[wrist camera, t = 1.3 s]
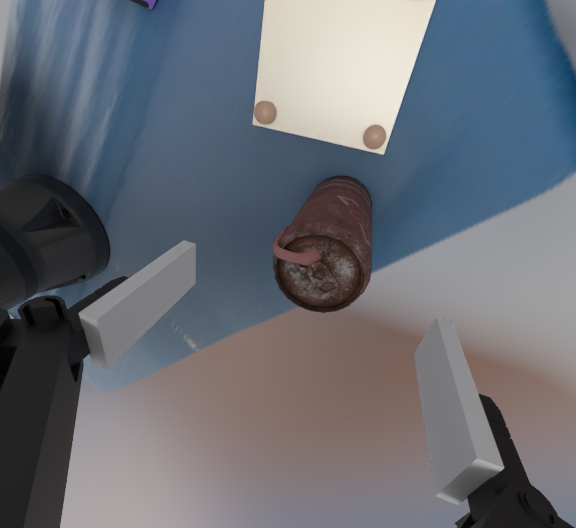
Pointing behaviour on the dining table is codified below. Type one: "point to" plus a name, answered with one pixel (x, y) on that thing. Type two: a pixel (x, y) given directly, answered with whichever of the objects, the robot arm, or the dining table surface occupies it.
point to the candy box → (145, 3)
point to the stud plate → (337, 67)
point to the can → (327, 247)
